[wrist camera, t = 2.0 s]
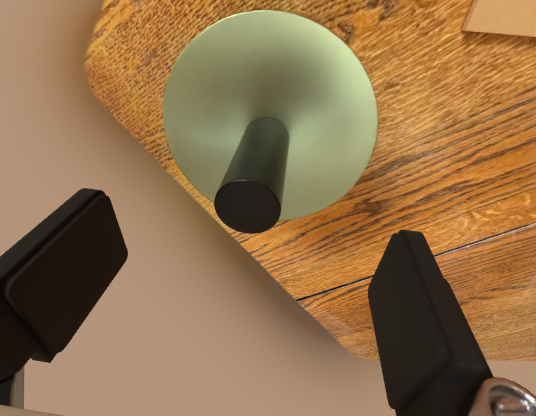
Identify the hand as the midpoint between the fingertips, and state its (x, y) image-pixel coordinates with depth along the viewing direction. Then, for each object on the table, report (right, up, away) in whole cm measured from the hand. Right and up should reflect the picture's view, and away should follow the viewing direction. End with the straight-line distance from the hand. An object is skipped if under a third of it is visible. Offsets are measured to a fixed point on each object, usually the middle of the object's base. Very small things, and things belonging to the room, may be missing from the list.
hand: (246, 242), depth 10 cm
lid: (+1, +5, +7) cm, 9 cm away
